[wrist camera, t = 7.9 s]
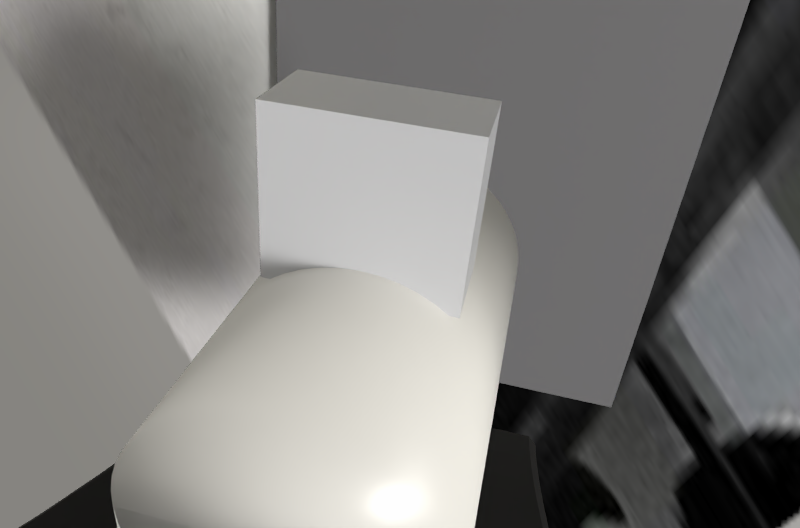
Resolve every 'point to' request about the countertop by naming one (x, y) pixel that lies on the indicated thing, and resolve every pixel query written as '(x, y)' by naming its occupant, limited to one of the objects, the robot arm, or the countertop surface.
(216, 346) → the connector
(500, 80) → the mat
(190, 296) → the countertop surface
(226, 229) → the countertop surface
